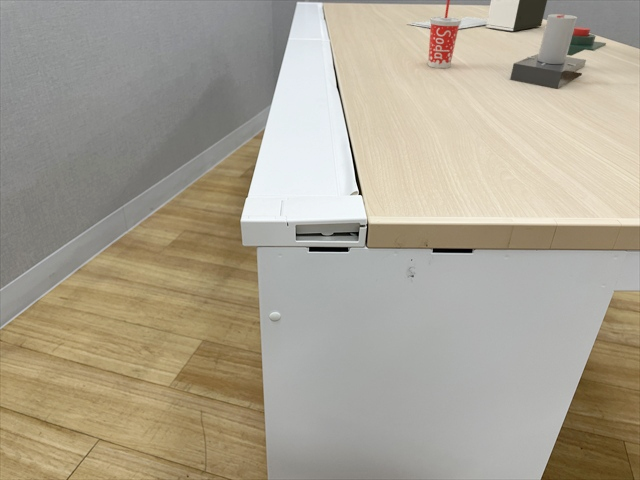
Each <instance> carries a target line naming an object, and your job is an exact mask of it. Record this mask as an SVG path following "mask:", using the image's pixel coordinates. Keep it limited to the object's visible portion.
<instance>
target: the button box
mask: <svg viewBox="0 0 640 480" xmlns="http://www.w3.org/2000/svg"><path fill="white" fill-rule="evenodd" d="M596 37H597V36H596V35H595V34H592V33H589V35H588V36H576V35H572V39H571V42H570V46H569V50H568V53H567V56H569V57H572V56H574V55H576V54H579V53H580V52H583V51H592V52H594V51H596V50H598V49H601V48H602V47H604V46H606V45H607V43H606V42H601V41H595V40H596Z"/></svg>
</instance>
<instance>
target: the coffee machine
mask: <svg viewBox="0 0 640 480" xmlns="http://www.w3.org/2000/svg"><path fill="white" fill-rule="evenodd" d="M547 3H548V0H490V4H489V9H488V15H487V18H481V17H480V18H479V17H474V16H466V17H465V18H462V19H461V25H459V28H458V30H461V29H467V28H473V27H480V26H485V27H486V28H489V29H490V30H494V31H502V32H515V31H520V30H526V29H531V28H532V29H533V28H537V27H542V24H543V20H544V16H545V11H546V7H547ZM408 25H409V26H416V27H420V28H421V27H422V28H427V29H431V23H430V20H426V21H425V20H424V21H419V22H411V23H408Z"/></svg>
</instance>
